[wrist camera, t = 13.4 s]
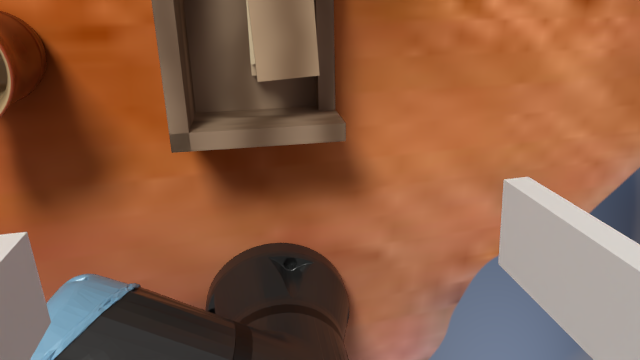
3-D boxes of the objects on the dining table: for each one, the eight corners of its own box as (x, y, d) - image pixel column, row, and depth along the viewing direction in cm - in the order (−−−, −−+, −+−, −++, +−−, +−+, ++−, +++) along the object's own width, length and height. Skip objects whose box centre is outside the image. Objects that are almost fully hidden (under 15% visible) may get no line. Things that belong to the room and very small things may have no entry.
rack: (182, 126, 49) (171, 152, 42) (148, -146, 41) (128, -174, 34) (330, 117, 51) (345, 141, 43) (325, -146, 43) (342, -172, 36)
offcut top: (256, 76, 43) (257, 81, 40) (240, -59, 39) (240, -62, 37) (315, 70, 43) (319, 75, 41) (304, -64, 39) (308, -67, 37)
